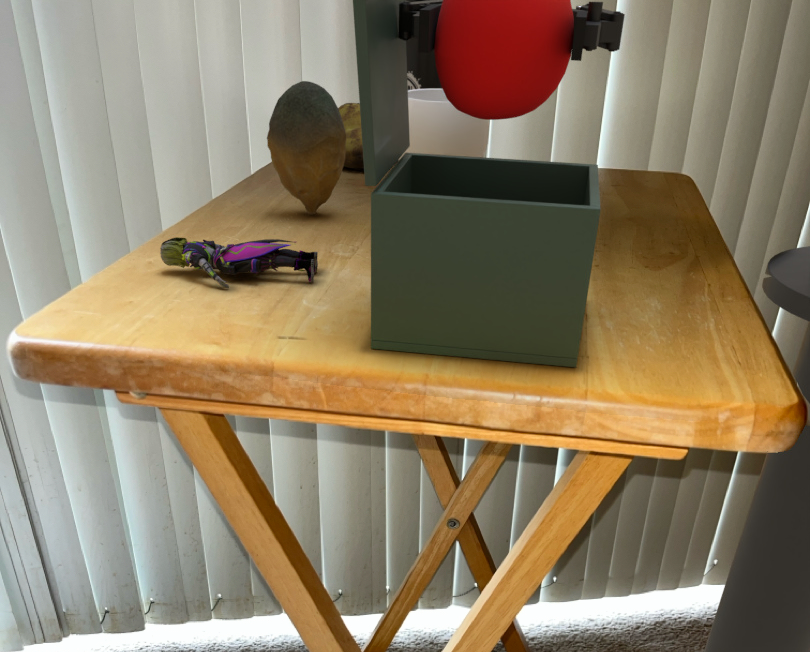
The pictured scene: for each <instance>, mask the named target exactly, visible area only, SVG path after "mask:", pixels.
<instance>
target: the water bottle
mask: <svg viewBox="0 0 810 652" xmlns="http://www.w3.org/2000/svg"><path fill="white" fill-rule="evenodd" d="M404 1H410V2H418V1H429V0H404ZM418 42H419V38H413V39H409V40H408V41H406V57H407V83H408V90H414V89H442V86H441V84H440V80H439V77H438V73H437V69H436V62H435V52H434V49H433V50H431V52H428V53H423V52H418ZM398 161H399V160H398ZM398 161H397V162H398ZM397 162H396V163H397Z"/></svg>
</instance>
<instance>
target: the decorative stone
mask: <svg viewBox="0 0 810 652" xmlns="http://www.w3.org/2000/svg"><path fill="white" fill-rule="evenodd" d="M338 108H339V107H338V105H337V103H336V102H335V100H334V98H333V96H332V95H331V94H330V93H329V92H328V90H326V88H324V87H323V86H321V85H320V84H317V83H315V82H313V81H309V80H302V81H299V82H297V83H295V84H292V85H291V86H290V87H289V88H288V89H287V90H285V91H284V92H283V93H282V94H281V96H280V97H278V99H277V101H276V103H275V106H274V108H273V111H272V113H271V116H270V119H269V122H268V132H267V135H266V140H267V145H266V146H267V148H268V150H269V152H270V159H271V163H272V165H273V168H274V170H275V171H276V173H277V175H278V177H279V180H280V183H281V185H282V186H283V188H284V189H285V190H286V191H287V192H288V193H289V194H290V195H291V196H293V197H294V198H295V199H297V200H299V201H300V202H301V204H302V206H304V209H305V210H306V212H307V214H308V215H314V214H317V211H318V210H319V208H320V207H321V206H322V205H324V204H325V203H327V202H328V200H329V199H330V197H331V196H332V194H333V191H334V189H335V187H336V186H337V184H338V181H340V178H341V175H342V171H343V168H344V167H345V166H344V162H345V152H346V131H345V127H344V124H343V121H342V118H341V115H340V112H339V109H338Z"/></svg>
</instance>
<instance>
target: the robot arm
mask: <svg viewBox="0 0 810 652" xmlns="http://www.w3.org/2000/svg"><path fill="white" fill-rule="evenodd" d="M442 2H443V0H429V1H418V2H410V1H404V2H401V3H399V37H398V38H400V39H403V40H405V41H408V40H409V39H413V38H419V42H418V52H423V53H428V52H431V50H433V49H434V47H435V32H436V27H437V22H438V18H439V13H440V10H441V6H442ZM603 6H604V1H588V3H586V4H582V5H576V6H575V8H572V11H573V16H574V39H573V47H572V53H571V57H570V61H577V62H582V58H583V50H585V51H586V52H592V51H596V50H597V49H598V48H600V49H602V50H603V49H604V50H607V52H610V53H611V52H613V53H614V52H617V51H619V50H620V49H621V48H620V47H621V42H622V36H623V28H624V21H625V15H626V14H625V13H623V12H621V11H618V10H615V11H613V10H609V9H606V8H603Z"/></svg>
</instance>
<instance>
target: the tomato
mask: <svg viewBox="0 0 810 652" xmlns="http://www.w3.org/2000/svg"><path fill="white" fill-rule="evenodd" d="M572 9H573V7H572V1H571V0H443V2H442V6H441V10H440V13H439V18H438V22H437V27H436V32H435V47H434V52H435V62H436V69H437V73H438V77H439V80H440V84H441V86H442V89H443V91H444V93H445V95H446V98H447V99H448V100H449V102H450V103H451V104H452V105H453V106H454V107H455V108H456V109H457V110H459V111H461V112H463V113H465V114H467V115H470V116H472V117H475V118H479V119H485V120H489V121H496V120H498V121H499V120H508V119H515V118H518V117H522V116H524V115H527V114H529V113H531V112H534V111H535V110H536V109H538V108H539V107H541V106H542V105H543V104H544V103H545V102H547V100H548V99H550V97H551V95H552V94H554V92H556V90H557V89H558V87H559V85H560V83H561V81H562V80H563V78H564V76H565V74H566V73H567V69H568V67H569V66H568V65H569V63H570V61H571V55H572V47H573V39H574V16H573V11H572Z"/></svg>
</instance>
